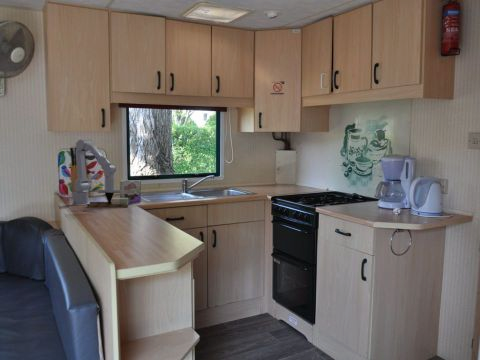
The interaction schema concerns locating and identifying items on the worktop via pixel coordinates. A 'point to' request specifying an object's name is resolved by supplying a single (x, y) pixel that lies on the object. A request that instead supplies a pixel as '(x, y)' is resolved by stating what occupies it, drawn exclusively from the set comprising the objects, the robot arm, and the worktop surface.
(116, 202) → the white block
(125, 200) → the sage block
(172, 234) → the worktop surface
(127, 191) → the candy box
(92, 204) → the walnut chute
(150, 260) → the worktop surface
